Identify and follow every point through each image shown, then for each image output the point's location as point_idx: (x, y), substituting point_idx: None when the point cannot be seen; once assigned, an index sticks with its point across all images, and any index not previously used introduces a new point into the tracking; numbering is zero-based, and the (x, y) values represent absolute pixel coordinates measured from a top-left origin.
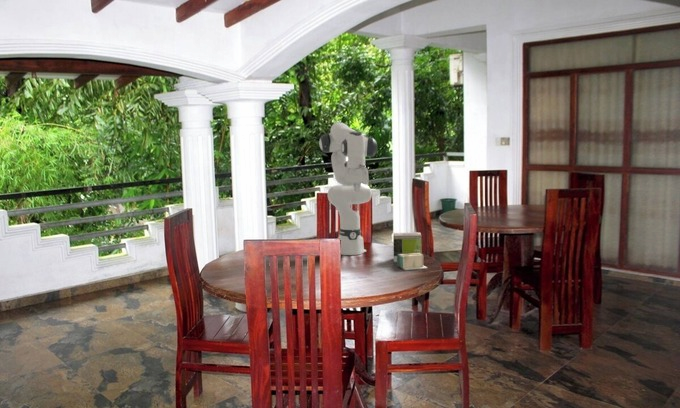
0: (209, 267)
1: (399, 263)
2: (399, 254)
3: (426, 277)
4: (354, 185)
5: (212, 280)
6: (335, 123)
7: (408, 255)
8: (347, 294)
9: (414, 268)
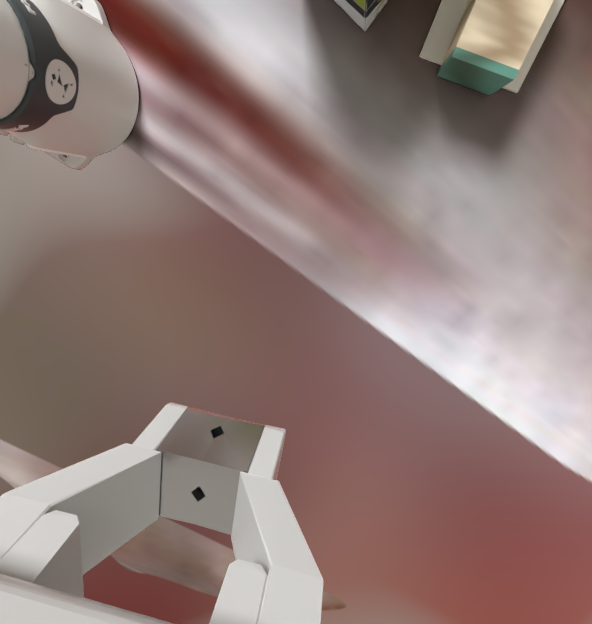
0: None
1: (471, 81)
2: (466, 48)
3: None
4: (91, 549)
5: (214, 588)
6: None
7: (526, 17)
8: (579, 470)
9: (544, 36)
